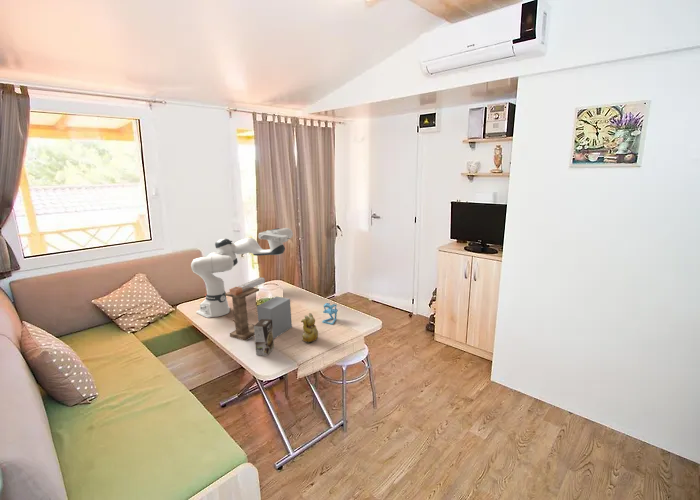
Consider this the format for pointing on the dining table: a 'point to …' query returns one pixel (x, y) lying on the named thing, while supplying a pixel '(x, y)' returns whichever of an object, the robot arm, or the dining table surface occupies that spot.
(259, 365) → the dining table surface
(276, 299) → the block
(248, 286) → the light slender bar
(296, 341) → the dining table surface
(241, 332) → the walnut shelf
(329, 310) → the blue strut sculpture
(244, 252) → the robot arm
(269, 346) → the coffee box
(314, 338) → the decorative figurine
